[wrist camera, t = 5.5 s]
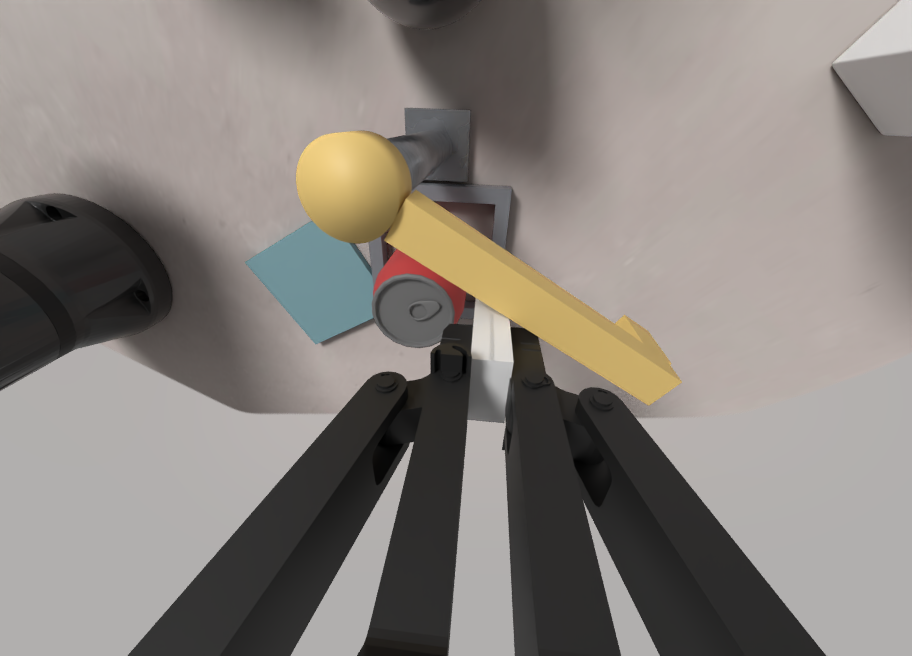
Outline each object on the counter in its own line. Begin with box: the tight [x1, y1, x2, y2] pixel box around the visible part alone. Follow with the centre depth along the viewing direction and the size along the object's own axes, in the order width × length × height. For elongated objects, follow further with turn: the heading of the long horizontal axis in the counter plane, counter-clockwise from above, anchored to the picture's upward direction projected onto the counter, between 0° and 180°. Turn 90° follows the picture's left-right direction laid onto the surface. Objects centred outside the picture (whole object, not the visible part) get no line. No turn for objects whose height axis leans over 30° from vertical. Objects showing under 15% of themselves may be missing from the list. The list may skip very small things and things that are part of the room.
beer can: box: [372, 249, 466, 348], centre depth 27 cm, size 7×7×12 cm
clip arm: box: [296, 131, 682, 405], centre depth 14 cm, size 16×3×4 cm, turn 58°
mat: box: [245, 221, 374, 344], centre depth 35 cm, size 11×11×1 cm
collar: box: [369, 182, 512, 319], centre depth 32 cm, size 12×12×2 cm
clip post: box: [387, 108, 471, 190], centre depth 20 cm, size 5×5×18 cm
